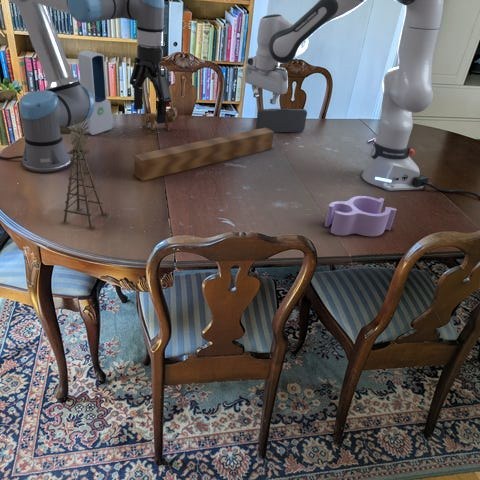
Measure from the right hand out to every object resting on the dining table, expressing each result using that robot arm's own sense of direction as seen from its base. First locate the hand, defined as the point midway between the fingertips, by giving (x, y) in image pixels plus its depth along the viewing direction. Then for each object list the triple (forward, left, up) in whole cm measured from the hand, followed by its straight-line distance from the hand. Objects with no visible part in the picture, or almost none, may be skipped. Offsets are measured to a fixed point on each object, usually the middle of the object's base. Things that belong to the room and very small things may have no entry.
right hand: (264, 100), depth 178 cm
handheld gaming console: (-12, -22, -20) cm, 32 cm away
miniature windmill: (+57, +60, -20) cm, 85 cm away
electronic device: (+66, -11, -20) cm, 69 cm away
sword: (-63, -22, -20) cm, 70 cm away
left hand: (+41, +29, +1) cm, 50 cm away
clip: (-23, +59, -20) cm, 66 cm away
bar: (+20, +15, -20) cm, 32 cm away
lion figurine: (+40, -16, -20) cm, 47 cm away
